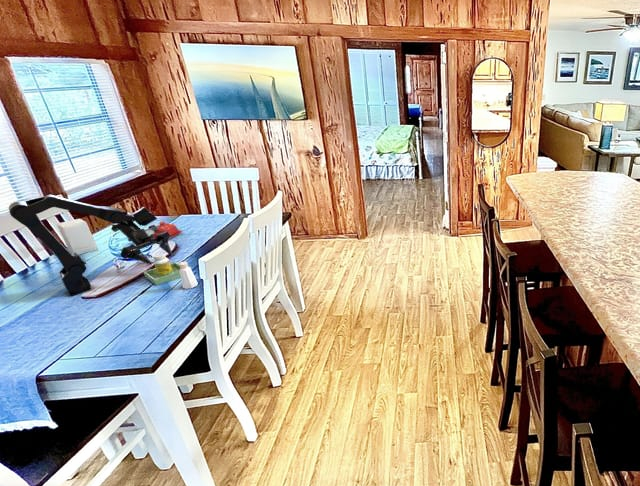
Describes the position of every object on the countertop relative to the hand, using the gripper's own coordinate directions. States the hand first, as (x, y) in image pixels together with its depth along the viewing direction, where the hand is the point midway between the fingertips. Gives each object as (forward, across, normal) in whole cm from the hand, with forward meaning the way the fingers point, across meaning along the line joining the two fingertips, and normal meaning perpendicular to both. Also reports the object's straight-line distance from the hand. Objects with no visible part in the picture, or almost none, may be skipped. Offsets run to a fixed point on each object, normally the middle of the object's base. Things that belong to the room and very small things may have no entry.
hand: (161, 258), depth 168 cm
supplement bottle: (+5, 0, +6) cm, 8 cm away
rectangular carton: (-39, +8, +51) cm, 65 cm away
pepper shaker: (+18, -4, -6) cm, 20 cm away
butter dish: (-24, +33, +36) cm, 54 cm away
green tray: (+6, 0, +6) cm, 9 cm away
